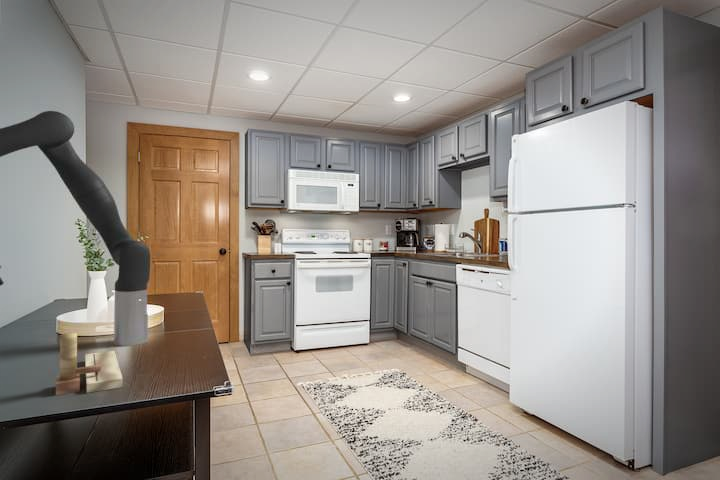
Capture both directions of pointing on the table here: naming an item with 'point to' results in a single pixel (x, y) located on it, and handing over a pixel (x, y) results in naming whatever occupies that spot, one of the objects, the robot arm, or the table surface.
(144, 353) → the table surface
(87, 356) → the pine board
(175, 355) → the table surface
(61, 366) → the marking gauge
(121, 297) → the robot arm
